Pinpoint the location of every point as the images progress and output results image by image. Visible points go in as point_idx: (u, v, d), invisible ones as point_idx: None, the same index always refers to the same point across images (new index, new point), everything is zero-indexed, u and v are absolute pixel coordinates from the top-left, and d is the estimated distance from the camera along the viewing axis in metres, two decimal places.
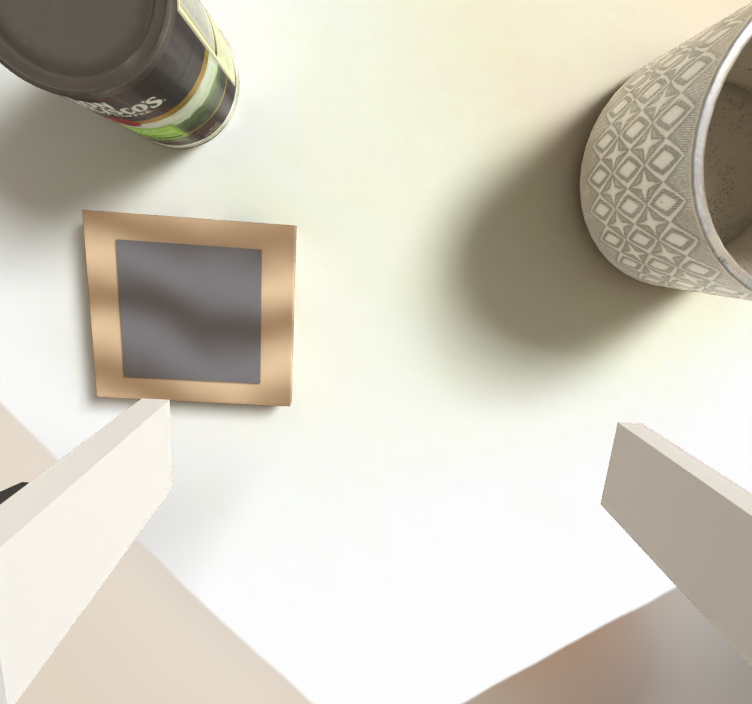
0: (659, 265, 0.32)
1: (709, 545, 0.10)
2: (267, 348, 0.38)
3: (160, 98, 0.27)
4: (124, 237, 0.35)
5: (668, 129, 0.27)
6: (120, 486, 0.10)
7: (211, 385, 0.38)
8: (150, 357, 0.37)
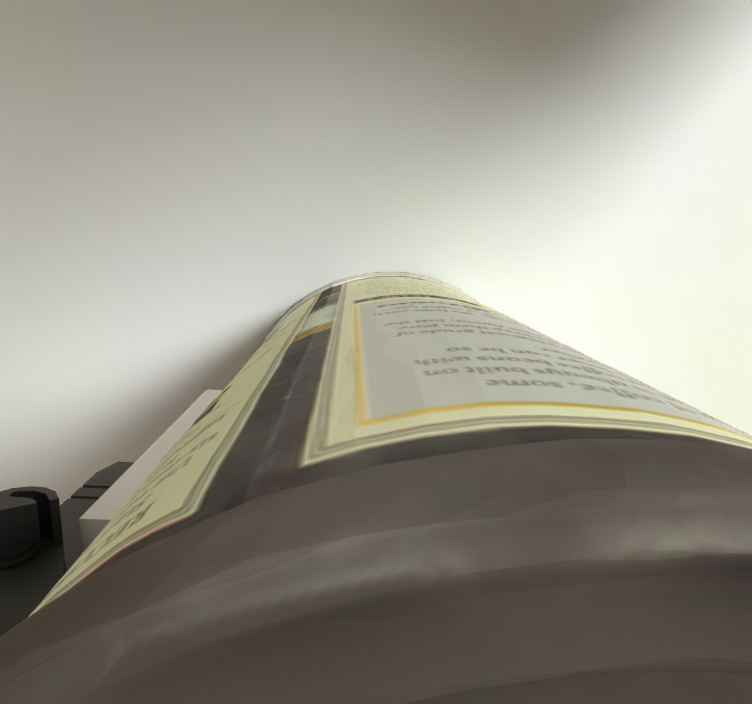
0: None
1: None
2: None
3: None
4: None
5: None
6: None
7: None
8: None
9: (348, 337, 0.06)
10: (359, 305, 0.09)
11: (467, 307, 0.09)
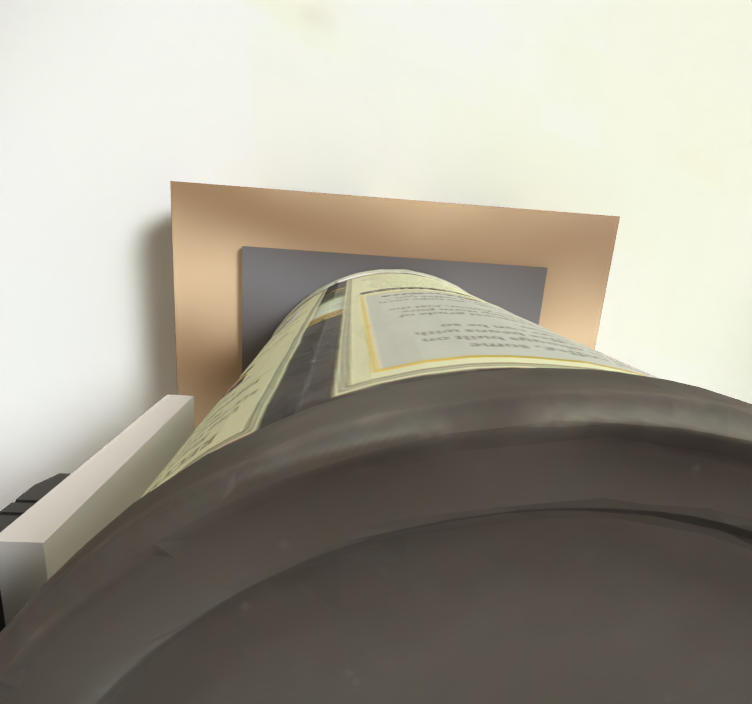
0: None
1: None
2: None
3: None
4: (258, 242, 0.16)
5: None
6: (152, 478, 0.11)
7: None
8: None
9: (358, 319, 0.07)
10: (365, 296, 0.10)
11: (461, 297, 0.10)
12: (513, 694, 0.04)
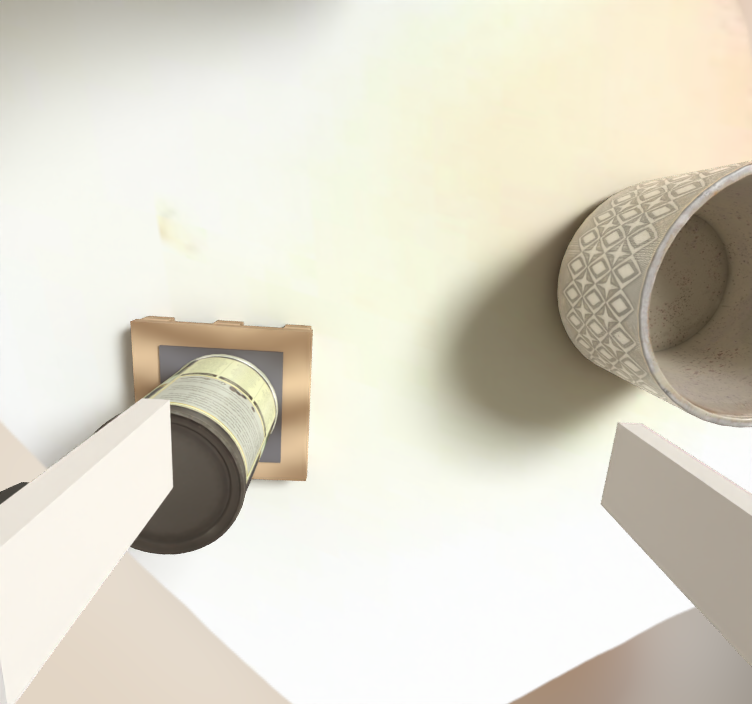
0: (622, 375, 0.38)
1: (709, 545, 0.10)
2: (287, 433, 0.44)
3: None
4: (165, 343, 0.41)
5: (622, 282, 0.33)
6: (120, 486, 0.10)
7: None
8: None
9: (162, 389, 0.32)
10: (179, 377, 0.35)
11: (204, 378, 0.34)
12: None
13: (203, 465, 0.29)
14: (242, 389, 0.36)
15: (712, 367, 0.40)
